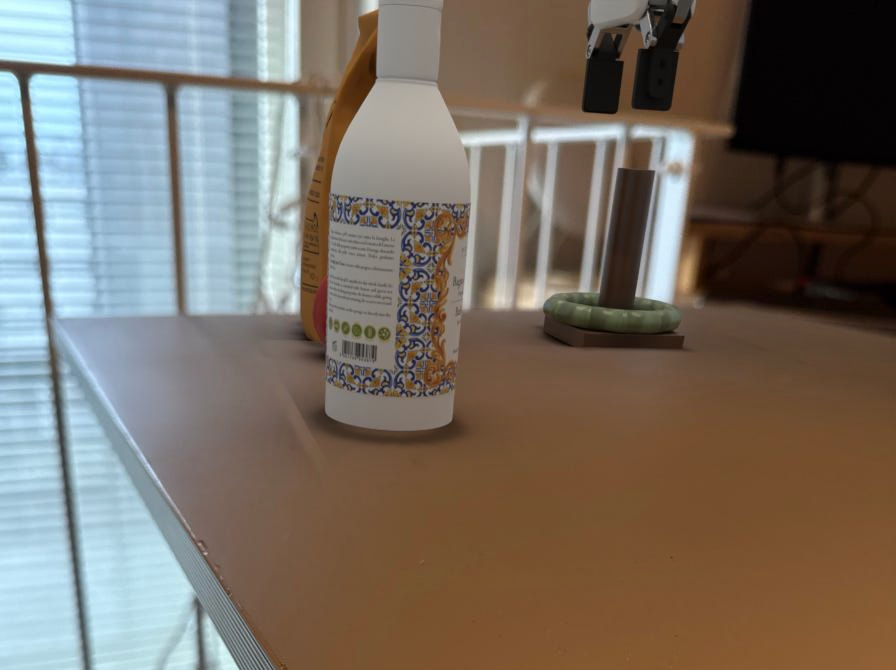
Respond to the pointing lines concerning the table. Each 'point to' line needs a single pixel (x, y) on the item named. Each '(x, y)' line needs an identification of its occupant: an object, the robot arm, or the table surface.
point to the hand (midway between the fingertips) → (623, 111)
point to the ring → (612, 314)
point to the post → (621, 268)
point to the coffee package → (339, 118)
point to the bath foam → (398, 238)
